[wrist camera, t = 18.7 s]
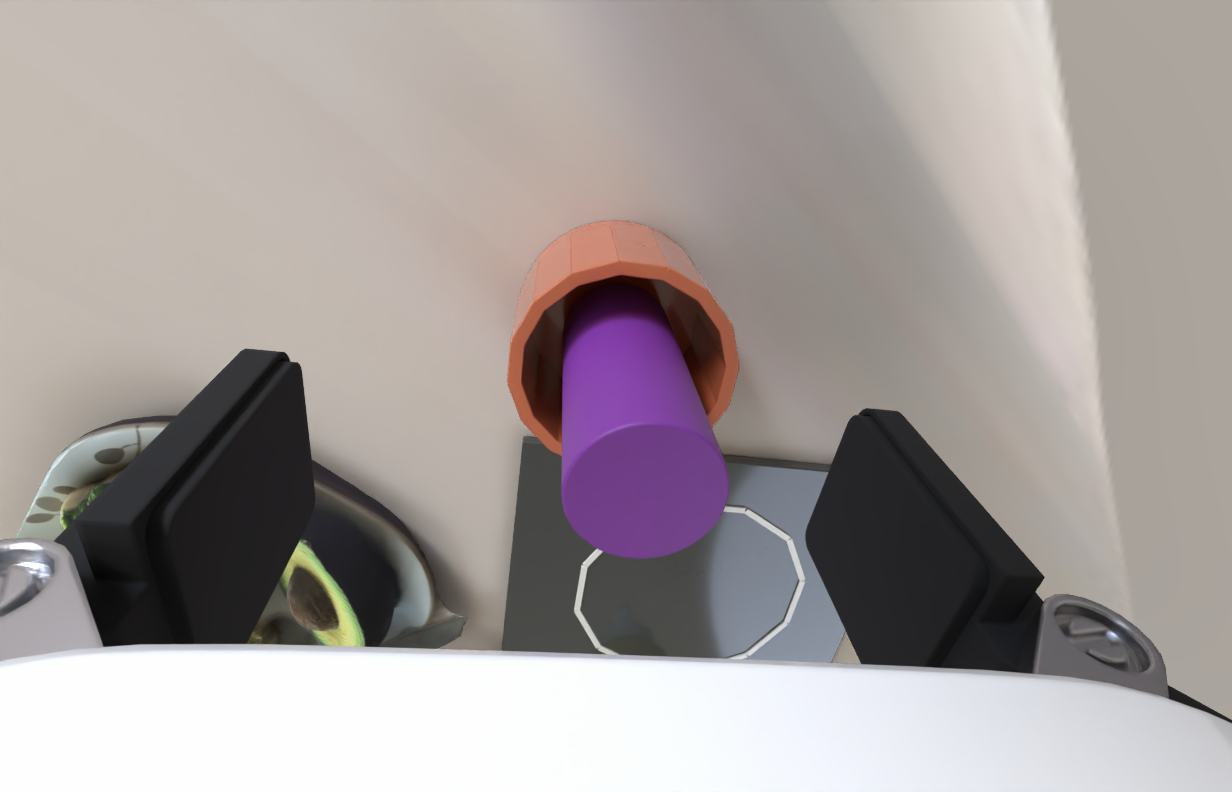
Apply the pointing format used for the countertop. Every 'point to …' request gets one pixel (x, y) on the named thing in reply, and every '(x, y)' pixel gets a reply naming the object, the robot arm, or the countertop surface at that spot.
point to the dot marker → (634, 430)
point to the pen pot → (600, 261)
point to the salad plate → (318, 569)
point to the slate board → (674, 575)
